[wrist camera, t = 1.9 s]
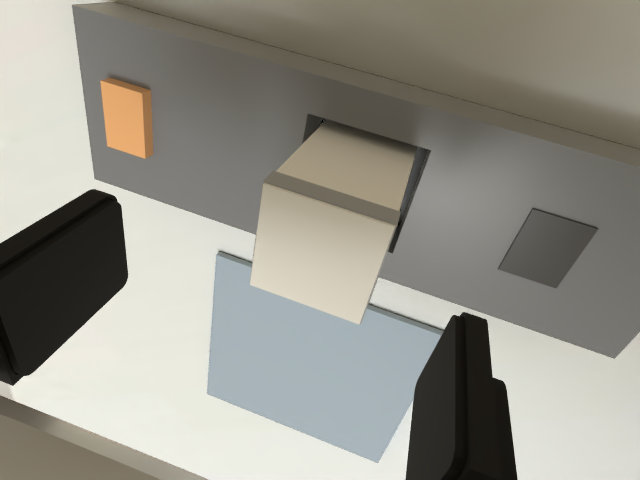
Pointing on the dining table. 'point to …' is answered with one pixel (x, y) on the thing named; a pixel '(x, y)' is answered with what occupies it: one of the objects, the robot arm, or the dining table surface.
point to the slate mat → (313, 363)
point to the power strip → (386, 120)
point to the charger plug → (331, 219)
